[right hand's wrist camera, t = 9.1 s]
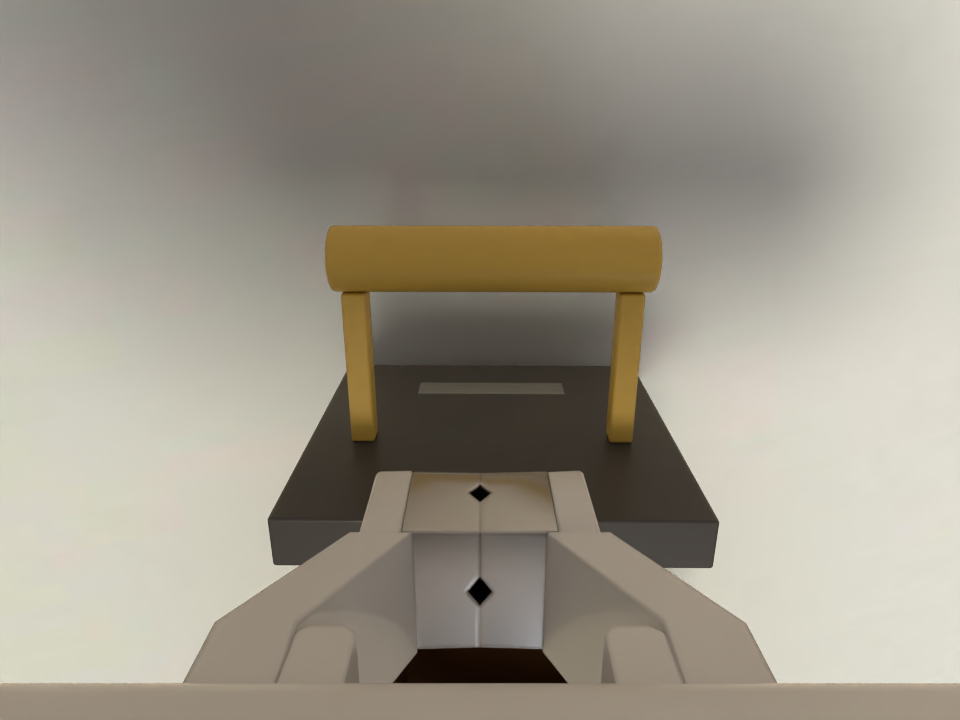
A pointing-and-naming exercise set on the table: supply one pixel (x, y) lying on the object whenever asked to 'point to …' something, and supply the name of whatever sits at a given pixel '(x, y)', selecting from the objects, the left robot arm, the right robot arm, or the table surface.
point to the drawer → (495, 408)
